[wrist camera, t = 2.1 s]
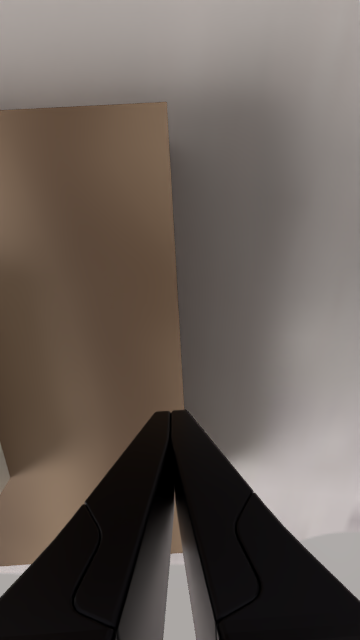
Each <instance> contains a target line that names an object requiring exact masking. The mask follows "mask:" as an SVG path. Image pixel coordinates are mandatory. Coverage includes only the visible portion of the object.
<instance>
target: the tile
mask: <svg viewBox="0 0 360 640" xmlns="http://www.w3.org/2000/svg"><path fill="white" fill-rule="evenodd" d="M9 479H10V475H9V471H8V468H7V464H6V461H5V457H4V454H3V450H2V447H1V443H0V494H1V492H2V490H3V489H4V487H5V486H6V484H7V482H8V481H9Z"/></svg>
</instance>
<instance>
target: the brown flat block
mask: <svg viewBox="0 0 360 640" xmlns="http://www.w3.org/2000/svg"><path fill="white" fill-rule="evenodd" d="M173 410H184V397H183V380H182V362H181V345H180V327H179V310H178V292H177V275H176V257H175V239H174V222H173V204H172V187H171V169H170V152H169V134H168V117H167V102H157V103H137V104H117V105H96V106H76V107H56V108H36V109H16V110H0V443H1V447H2V450H3V454H4V457H5V461H6V464H7V468H8V471H9V475H10V479H9V481H8V482H7V484H6V486H5V487H4V489H3V490H2V492H1V494H0V566H11V565H25V564H32V563H33V562H34V561H35V560H36V559H37V558H38V556H39V555H40V554H41V553H42V552H43V551H44V550H45V549H46V548H47V547H48V545H49V544H50V543H51V542H52V541H53V540H54V539H55V537H56V536H57V535H58V534H59V533H60V531H61V530H62V529H63V528H64V527H65V525H66V524H67V523H68V522H69V521H70V519H71V518H72V517H73V516H74V514H75V513H76V512H77V510H78V509H79V508H80V507H81V505H83V504H84V502H85V500H86V499H87V498H88V497H89V495H90V494H91V493H92V492H93V490H94V489H95V488H96V486H97V485H98V484H99V483H100V481H101V480H102V479H103V478H104V476H105V475H106V474H107V472H108V471H109V470H110V469H111V467H112V466H113V465H114V463H115V462H116V461H117V460H118V458H119V457H120V456H121V455H122V453H123V452H124V451H125V449H126V448H127V447H128V446H129V444H130V443H131V442H132V441H133V439H134V438H135V437H136V435H137V434H138V433H139V432H140V430H141V429H142V428H143V427H144V425H145V424H146V423H147V421H148V420H149V419H150V418H151V416H152V415H153V414H154V413H155V412H157V411H170V412H172V411H173ZM172 553H183V549H182V543H181V536H180V530H179V523H178V517H177V510H176V501H175V505H174V519H173V530H172V542H171V553H170V554H172Z"/></svg>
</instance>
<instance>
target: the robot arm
mask: <svg viewBox="0 0 360 640" xmlns="http://www.w3.org/2000/svg"><path fill="white" fill-rule="evenodd" d="M175 501H176V510H177V517H178V523H179V530H180V536H181V543H182V549H183V556H184V562H185V568H186V575H187V582H188V588H189V594H190V601H191V608H192V614H193V621H194V627H195V634H196V640H360V601H359V600H358V599H357V598H356V597H355V596H354V595H353V594H352V593H351V592H350V591H349V590H348V589H347V588H346V587H345V586H344V585H343V584H342V583H341V582H340V581H339V580H338V579H337V578H336V577H335V576H333V574H331V573H330V572H329V571H328V570H327V569H326V568H325V567H324V566H323V565H322V564H321V563H320V562H319V561H318V560H317V559H316V558H315V557H314V556H313V555H312V554H311V553H310V552H309V551H308V550H307V549H306V548H305V547H304V546H303V545H302V544H301V543H300V542H299V541H298V540H297V539H296V538H295V537H294V536H293V535H292V534H291V533H290V532H289V531H288V530H287V529H286V528H285V527H284V526H283V525H282V524H281V522H280V521H279V520H278V519H277V518H276V517H275V516H274V515H273V513H272V512H271V511H270V510H269V509H268V508H267V507H266V505H265V504H264V503H263V502H262V500H261V499H260V498H259V497H258V496H257V494H256V493H253V490H252V488H251V487H250V486H249V485H248V484H247V482H246V481H245V480H244V479H243V478H242V476H241V475H240V474H239V473H238V472H237V470H236V469H235V468H234V467H233V465H232V464H231V463H230V462H229V461H228V459H227V458H226V457H225V456H224V455H223V453H222V452H221V451H220V450H219V449H218V447H217V446H216V445H215V444H214V442H213V441H212V440H211V439H210V438H209V436H208V435H207V434H206V433H205V432H204V430H203V429H202V428H201V427H200V425H199V424H198V423H197V422H196V421H195V419H194V418H193V417H192V416H191V415H190V413H189V412H188V411H187V410H173V411H172V412H170V411H157V412H155V413H154V414H153V415H152V416H151V418H150V419H149V420H148V421H147V423H146V424H145V425H144V427H143V428H142V429H141V430H140V432H139V433H138V434H137V435H136V437H135V438H134V439H133V441H132V442H131V443H130V444H129V446H128V447H127V448H126V449H125V451H124V452H123V453H122V455H121V456H120V457H119V458H118V460H117V461H116V462H115V463H114V465H113V466H112V467H111V469H110V470H109V471H108V472H107V474H106V475H105V476H104V478H103V479H102V480H101V481H100V483H99V484H98V485H97V486H96V488H95V489H94V490H93V492H92V493H91V494H90V495H89V497H88V498H87V499H86V500H85V502H84V504H83V505H81V507H80V508H79V509H78V510H77V512H76V513H75V514H74V516H73V517H72V518H71V519H70V521H69V522H68V523H67V524H66V525H65V527H64V528H63V529H62V530H61V531H60V533H59V534H58V535H57V536H56V537H55V539H54V540H53V541H52V542H51V543H50V544H49V545H48V547H47V548H46V549H45V550H44V551H43V552H42V553H41V554H40V555H39V556H38V558H37V559H36V560H35V561H34V562H33V563H32V564H31V565H30V566H29V567H28V569H27V570H26V571H25V572H24V573H23V574H22V575H21V576H20V577H19V578H18V579H17V580H16V581H15V582H14V583H13V584H12V585H11V587H10V588H9V589H8V590H7V591H6V592H5V593H4V594H3V595H2V596H1V597H0V640H163V633H164V622H165V611H166V599H167V588H168V576H169V565H170V553H171V542H172V530H173V519H174V505H175Z"/></svg>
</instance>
